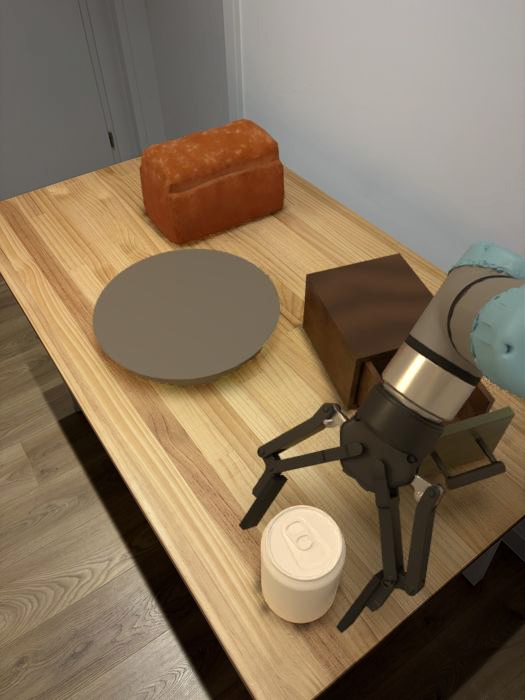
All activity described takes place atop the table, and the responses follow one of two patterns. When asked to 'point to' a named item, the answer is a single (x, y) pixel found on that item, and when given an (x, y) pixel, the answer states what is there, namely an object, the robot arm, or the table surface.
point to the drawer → (454, 431)
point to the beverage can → (301, 563)
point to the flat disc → (186, 316)
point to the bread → (211, 180)
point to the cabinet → (361, 315)
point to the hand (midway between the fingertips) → (292, 573)
